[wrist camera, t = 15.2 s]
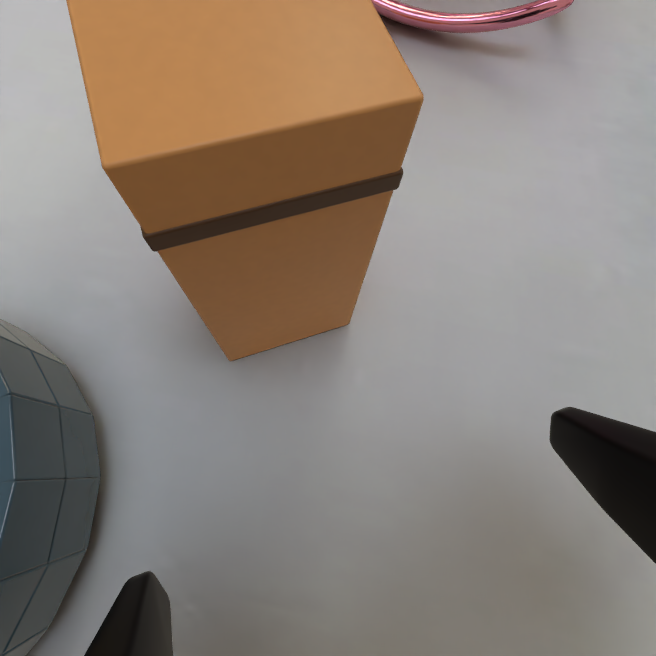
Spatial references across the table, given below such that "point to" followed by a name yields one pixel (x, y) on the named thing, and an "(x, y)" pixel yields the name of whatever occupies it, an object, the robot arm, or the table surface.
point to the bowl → (40, 486)
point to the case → (251, 149)
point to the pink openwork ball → (469, 16)
